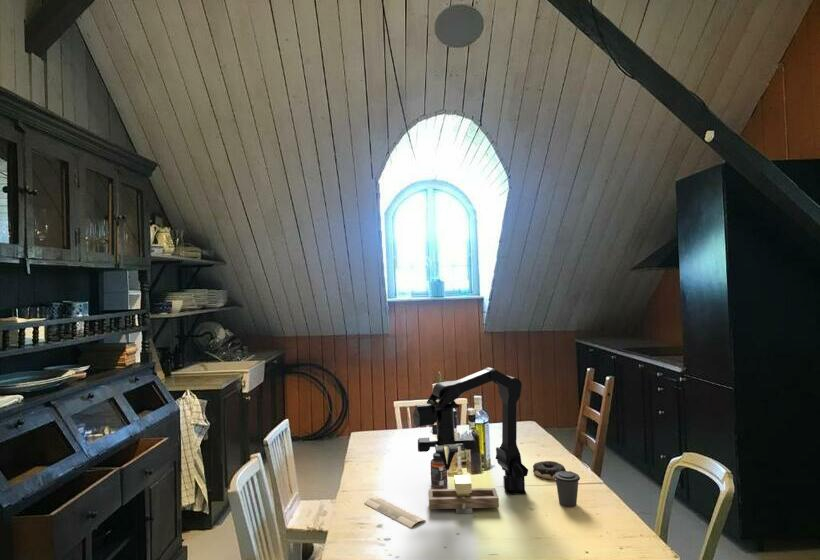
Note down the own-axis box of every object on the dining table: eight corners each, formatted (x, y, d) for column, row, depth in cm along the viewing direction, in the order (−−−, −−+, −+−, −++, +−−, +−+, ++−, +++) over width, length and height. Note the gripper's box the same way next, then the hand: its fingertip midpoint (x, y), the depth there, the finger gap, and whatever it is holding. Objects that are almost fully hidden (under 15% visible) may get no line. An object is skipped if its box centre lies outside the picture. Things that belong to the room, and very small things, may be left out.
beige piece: (425, 524, 155) (425, 518, 155) (408, 532, 151) (408, 526, 151) (378, 500, 173) (378, 495, 173) (361, 507, 168) (361, 501, 168)
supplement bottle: (446, 489, 179) (445, 457, 179) (429, 488, 180) (428, 456, 180) (448, 482, 184) (447, 451, 184) (432, 481, 186) (431, 450, 186)
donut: (559, 483, 181) (559, 472, 181) (528, 476, 188) (527, 466, 188) (569, 472, 191) (568, 462, 191) (538, 467, 197) (538, 456, 197)
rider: (469, 493, 167) (469, 475, 167) (472, 502, 161) (471, 483, 161) (454, 493, 167) (454, 475, 167) (456, 502, 161) (455, 483, 161)
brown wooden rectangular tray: (495, 500, 168) (494, 486, 168) (499, 513, 159) (498, 498, 159) (428, 502, 169) (428, 488, 169) (429, 514, 160) (429, 500, 160)
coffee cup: (581, 500, 167) (580, 469, 167) (580, 511, 159) (579, 479, 159) (555, 497, 170) (554, 467, 169) (554, 508, 162) (553, 476, 162)
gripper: (471, 414, 174) (473, 459, 174) (416, 416, 174) (419, 461, 174) (474, 423, 163) (477, 472, 163) (416, 426, 163) (419, 474, 163)
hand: (447, 469), depth 166 cm, fingers closed
